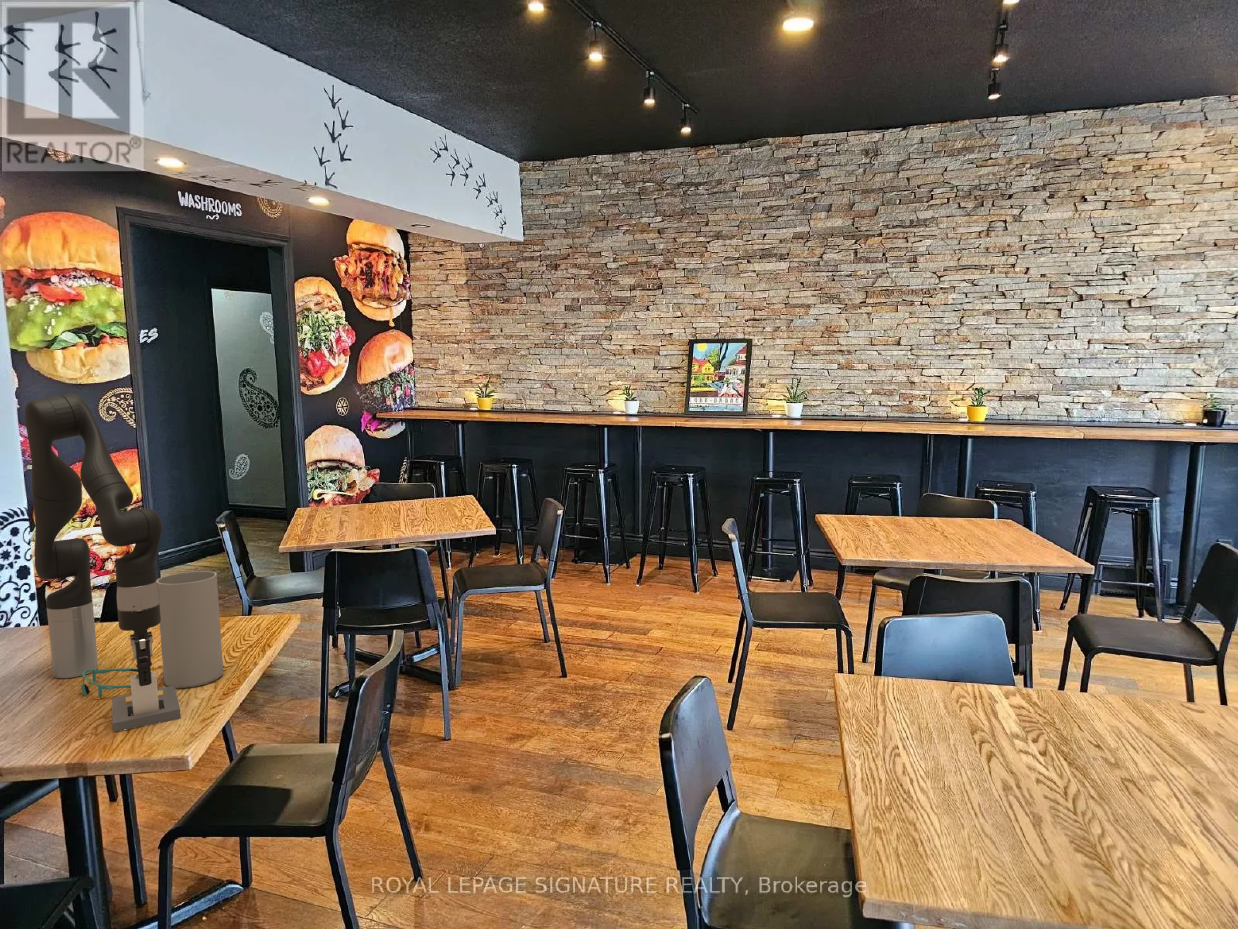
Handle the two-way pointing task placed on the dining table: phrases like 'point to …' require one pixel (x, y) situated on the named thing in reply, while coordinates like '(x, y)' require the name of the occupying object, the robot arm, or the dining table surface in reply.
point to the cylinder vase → (190, 629)
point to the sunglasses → (100, 687)
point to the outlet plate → (125, 707)
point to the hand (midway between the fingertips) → (144, 678)
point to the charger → (144, 695)
